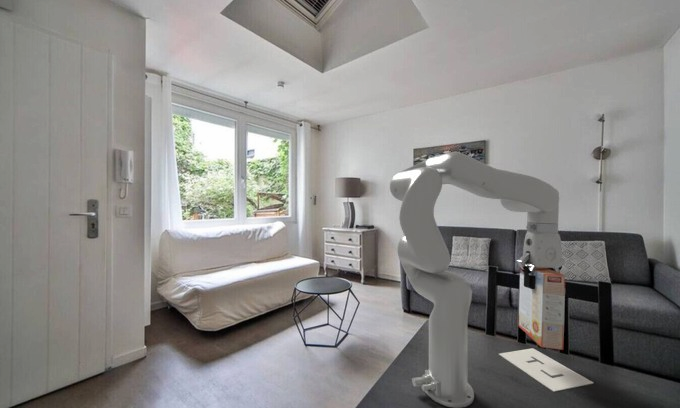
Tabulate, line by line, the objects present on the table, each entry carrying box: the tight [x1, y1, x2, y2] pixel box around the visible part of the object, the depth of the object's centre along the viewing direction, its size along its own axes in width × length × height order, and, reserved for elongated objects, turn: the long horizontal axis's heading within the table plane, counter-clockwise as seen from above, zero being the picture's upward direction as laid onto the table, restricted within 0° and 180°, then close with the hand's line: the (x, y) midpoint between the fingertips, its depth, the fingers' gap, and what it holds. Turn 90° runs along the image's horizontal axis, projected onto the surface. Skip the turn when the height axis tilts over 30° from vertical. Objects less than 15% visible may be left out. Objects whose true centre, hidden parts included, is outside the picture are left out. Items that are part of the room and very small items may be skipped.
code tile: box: [498, 347, 594, 392], centre depth 81 cm, size 14×18×1 cm
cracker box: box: [518, 267, 566, 351], centre depth 81 cm, size 14×6×21 cm, turn 169°
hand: (540, 286), depth 81 cm, fingers closed on cracker box, 8 cm apart
